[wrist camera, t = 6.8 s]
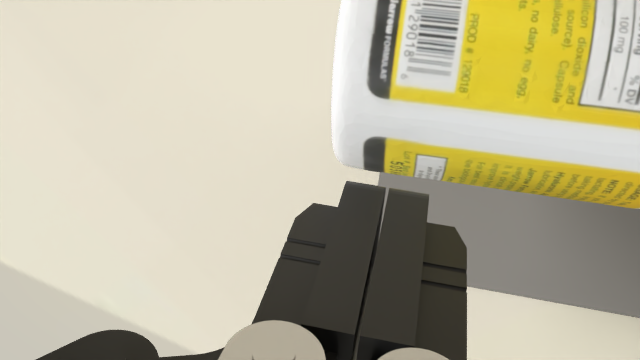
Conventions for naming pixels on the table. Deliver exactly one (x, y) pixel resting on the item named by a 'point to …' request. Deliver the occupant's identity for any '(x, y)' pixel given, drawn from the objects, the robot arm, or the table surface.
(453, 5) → the supplement bottle
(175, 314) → the table surface
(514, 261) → the mat
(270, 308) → the robot arm
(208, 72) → the table surface
